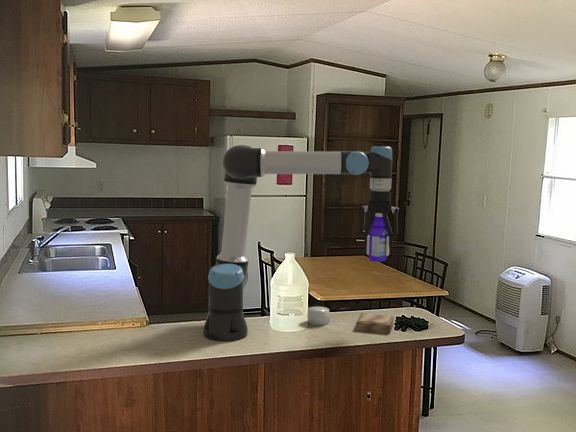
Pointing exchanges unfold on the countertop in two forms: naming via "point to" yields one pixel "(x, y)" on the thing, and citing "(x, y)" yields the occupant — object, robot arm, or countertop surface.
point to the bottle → (378, 239)
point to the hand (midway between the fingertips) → (377, 254)
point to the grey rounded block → (318, 315)
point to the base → (375, 323)
